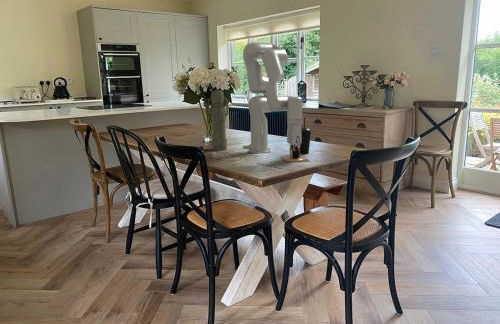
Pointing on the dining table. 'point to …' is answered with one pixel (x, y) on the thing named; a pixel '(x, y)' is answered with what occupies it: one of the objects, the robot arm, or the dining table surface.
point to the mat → (294, 162)
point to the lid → (290, 158)
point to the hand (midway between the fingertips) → (294, 157)
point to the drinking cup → (305, 139)
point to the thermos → (218, 120)
